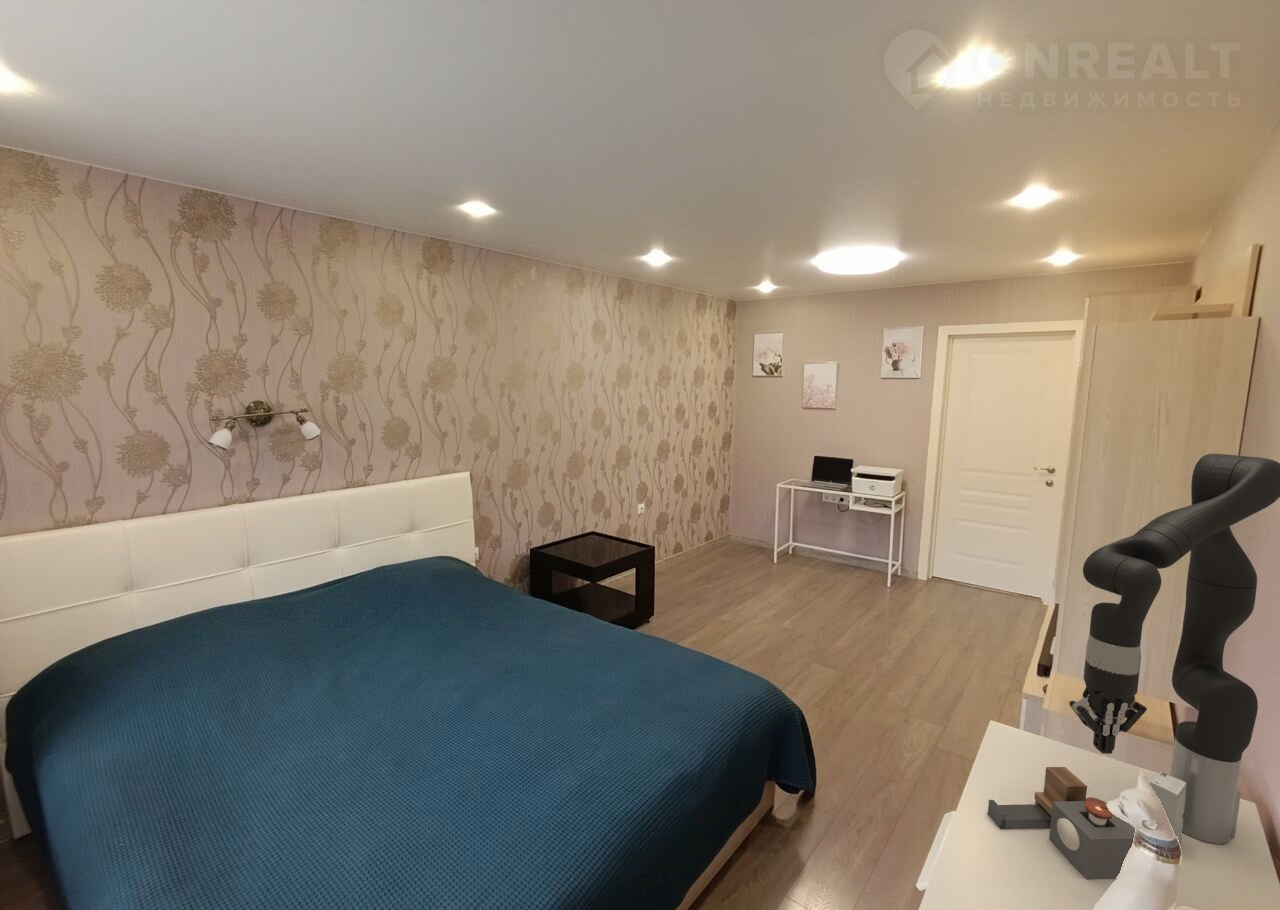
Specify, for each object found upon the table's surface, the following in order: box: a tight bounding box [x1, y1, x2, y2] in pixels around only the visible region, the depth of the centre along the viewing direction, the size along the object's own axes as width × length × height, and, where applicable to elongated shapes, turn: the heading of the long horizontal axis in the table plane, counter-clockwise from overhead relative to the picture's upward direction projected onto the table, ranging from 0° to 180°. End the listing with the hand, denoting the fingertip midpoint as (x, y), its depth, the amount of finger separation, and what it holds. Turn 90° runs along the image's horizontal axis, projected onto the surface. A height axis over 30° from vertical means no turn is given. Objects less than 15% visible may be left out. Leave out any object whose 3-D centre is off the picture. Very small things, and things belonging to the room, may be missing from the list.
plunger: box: [1085, 797, 1113, 827], centre depth 104 cm, size 4×4×7 cm
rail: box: [987, 799, 1051, 830], centre depth 113 cm, size 20×4×3 cm, turn 91°
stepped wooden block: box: [1034, 766, 1088, 815], centre depth 113 cm, size 7×6×9 cm
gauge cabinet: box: [1048, 801, 1136, 880], centre depth 104 cm, size 10×9×8 cm
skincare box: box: [1149, 771, 1186, 843], centre depth 108 cm, size 6×4×12 cm
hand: (1103, 750), depth 103 cm, fingers closed
